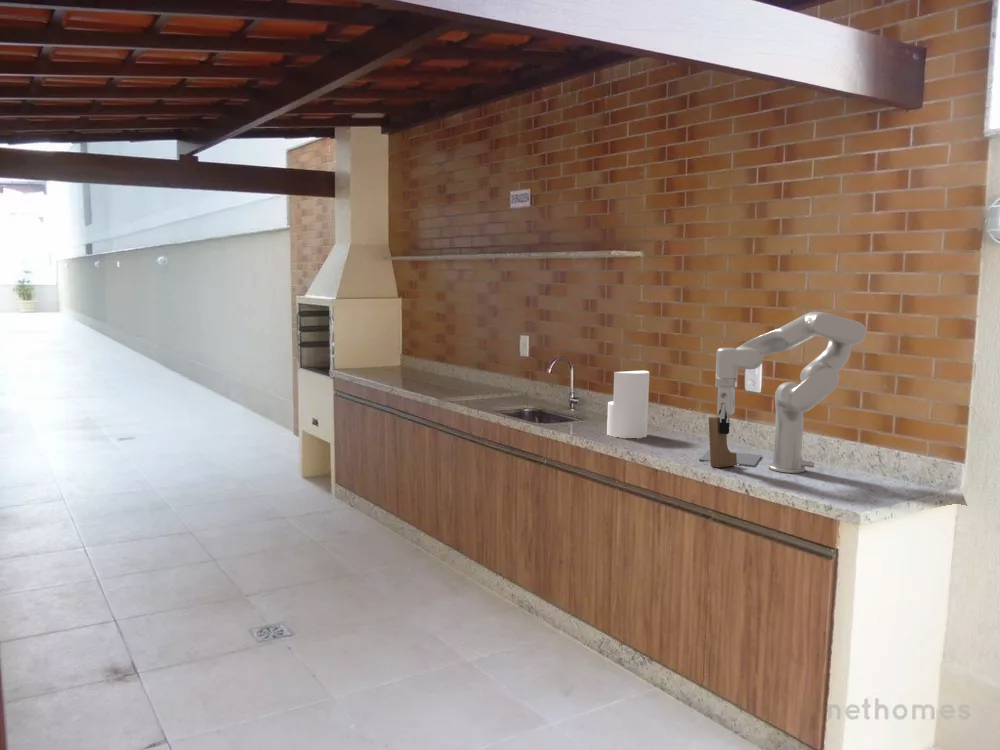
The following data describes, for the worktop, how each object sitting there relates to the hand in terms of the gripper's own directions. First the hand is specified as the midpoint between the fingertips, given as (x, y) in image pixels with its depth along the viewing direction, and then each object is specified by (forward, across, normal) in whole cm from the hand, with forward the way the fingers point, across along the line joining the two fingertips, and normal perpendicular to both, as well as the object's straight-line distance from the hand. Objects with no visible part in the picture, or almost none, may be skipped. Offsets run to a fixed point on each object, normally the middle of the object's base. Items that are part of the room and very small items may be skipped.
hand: (724, 433), depth 293 cm
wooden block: (+13, +4, 0) cm, 14 cm away
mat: (+13, +20, 0) cm, 24 cm away
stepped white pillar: (+13, +49, +48) cm, 70 cm away
